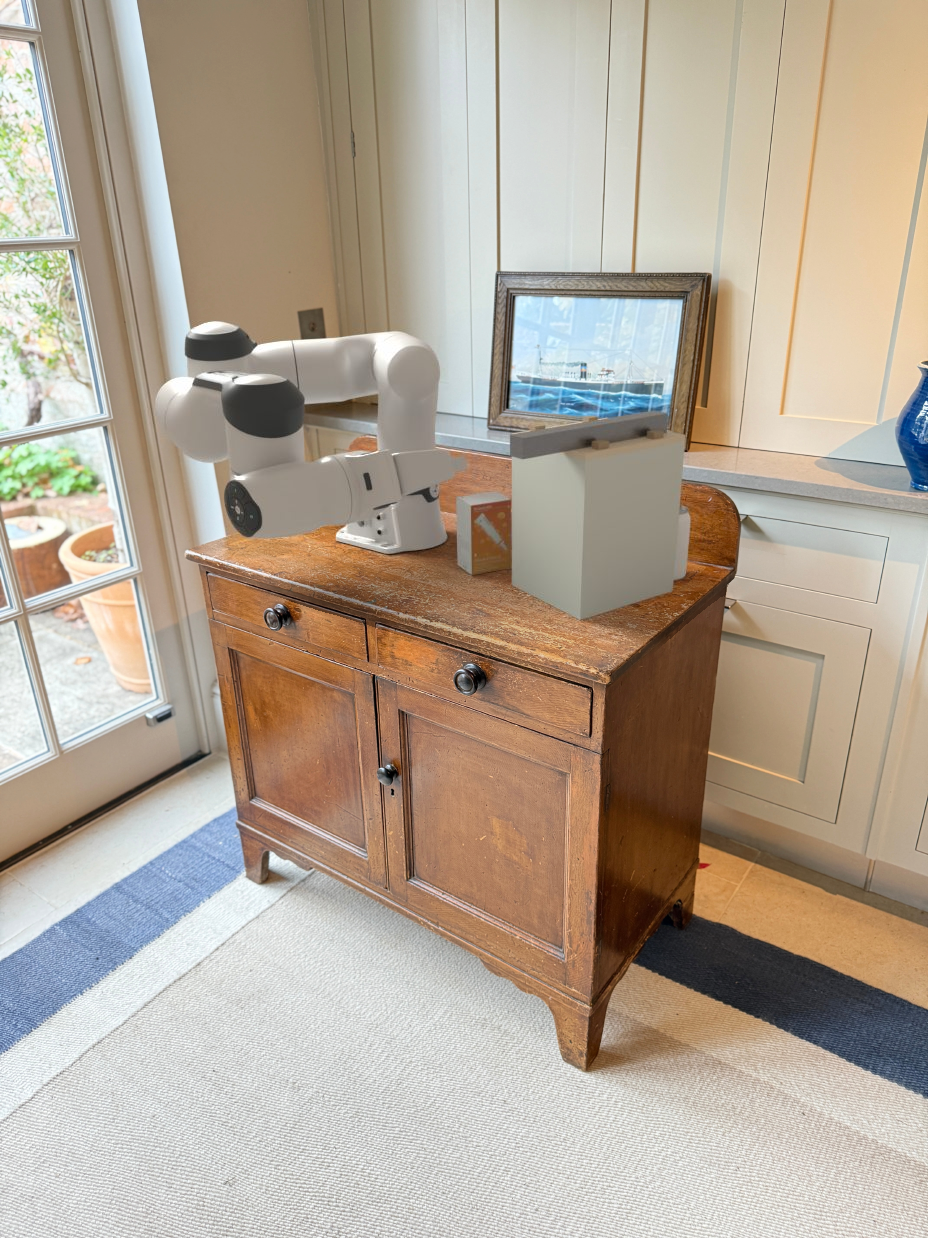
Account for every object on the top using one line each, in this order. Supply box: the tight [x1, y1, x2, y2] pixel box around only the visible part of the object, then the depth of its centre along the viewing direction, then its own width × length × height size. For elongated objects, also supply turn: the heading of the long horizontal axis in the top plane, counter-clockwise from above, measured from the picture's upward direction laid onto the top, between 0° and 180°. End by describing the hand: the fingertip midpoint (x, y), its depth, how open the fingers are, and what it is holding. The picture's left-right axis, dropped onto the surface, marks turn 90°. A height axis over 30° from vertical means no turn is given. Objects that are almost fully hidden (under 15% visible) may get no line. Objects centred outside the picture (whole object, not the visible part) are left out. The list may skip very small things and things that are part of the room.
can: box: [673, 504, 692, 582], centre depth 145 cm, size 6×6×12 cm
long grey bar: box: [509, 410, 669, 459], centre depth 126 cm, size 28×3×3 cm, turn 123°
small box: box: [455, 490, 512, 576], centre depth 151 cm, size 8×6×13 cm
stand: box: [511, 414, 686, 621], centre depth 137 cm, size 20×18×27 cm
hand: (445, 469), depth 115 cm, fingers open, 8 cm apart
